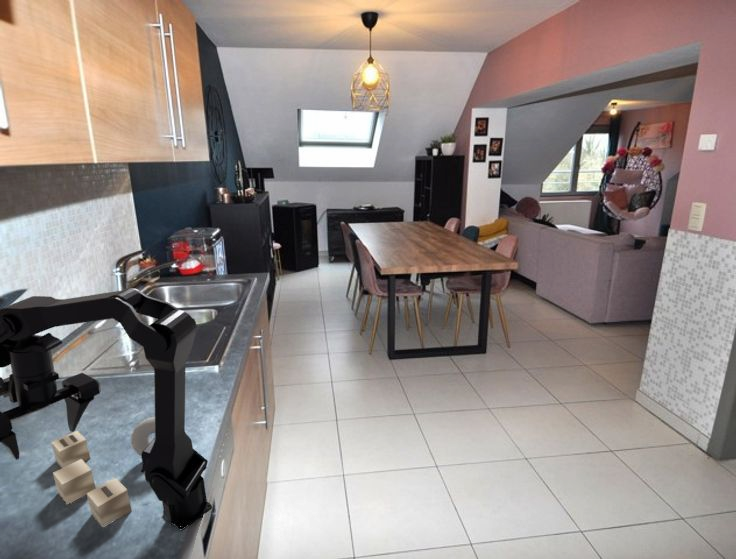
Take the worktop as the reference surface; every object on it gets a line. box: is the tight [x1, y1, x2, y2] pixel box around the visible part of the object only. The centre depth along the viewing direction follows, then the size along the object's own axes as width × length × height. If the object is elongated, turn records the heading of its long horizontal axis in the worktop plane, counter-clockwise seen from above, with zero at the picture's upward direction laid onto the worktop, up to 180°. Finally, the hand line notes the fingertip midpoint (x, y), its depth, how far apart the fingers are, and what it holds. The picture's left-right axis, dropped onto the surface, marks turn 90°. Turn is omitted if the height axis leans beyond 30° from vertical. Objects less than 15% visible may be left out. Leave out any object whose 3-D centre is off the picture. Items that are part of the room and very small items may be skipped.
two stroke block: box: [51, 430, 91, 469], centre depth 94 cm, size 5×5×5 cm
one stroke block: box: [86, 477, 133, 528], centre depth 80 cm, size 5×5×5 cm
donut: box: [130, 416, 155, 457], centre depth 94 cm, size 10×3×10 cm, turn 105°
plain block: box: [52, 459, 97, 505], centre depth 85 cm, size 5×5×5 cm
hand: (45, 444), depth 79 cm, fingers open, 9 cm apart
